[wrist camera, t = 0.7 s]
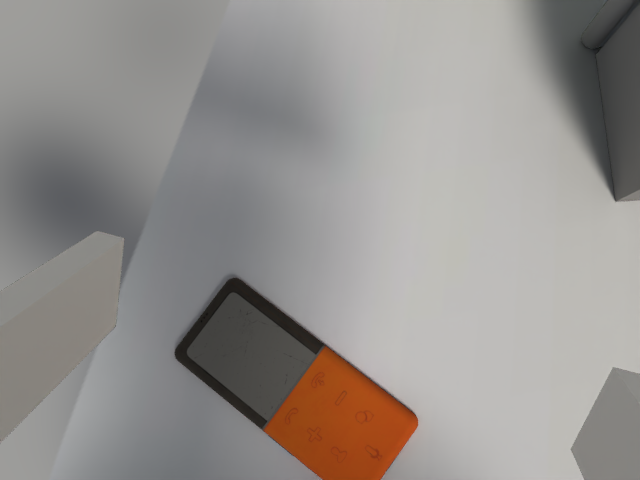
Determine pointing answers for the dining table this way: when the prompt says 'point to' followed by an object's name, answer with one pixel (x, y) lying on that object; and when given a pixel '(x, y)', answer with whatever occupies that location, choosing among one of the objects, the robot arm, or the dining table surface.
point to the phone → (295, 387)
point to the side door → (607, 22)
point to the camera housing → (622, 105)
